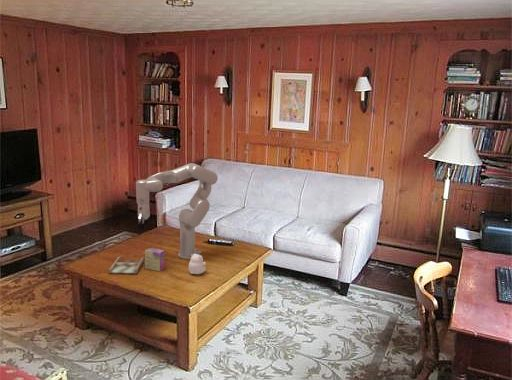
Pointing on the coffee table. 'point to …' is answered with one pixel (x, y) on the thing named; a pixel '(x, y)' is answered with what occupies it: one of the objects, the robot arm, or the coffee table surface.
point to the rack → (126, 266)
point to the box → (154, 259)
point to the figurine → (196, 264)
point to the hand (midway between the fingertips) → (143, 227)
